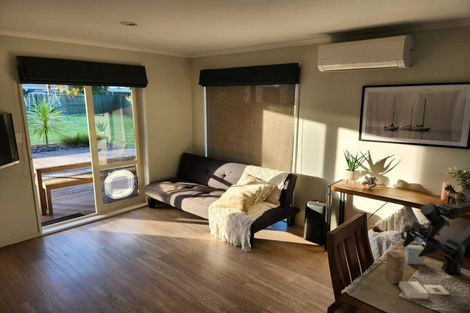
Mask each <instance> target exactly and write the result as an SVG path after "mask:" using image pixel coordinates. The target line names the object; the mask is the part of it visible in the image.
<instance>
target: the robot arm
mask: <svg viewBox="0 0 470 313" xmlns="http://www.w3.org/2000/svg"><path fill="white" fill-rule="evenodd" d="M419 211H420V213H421V214H422V216H423V217H424V218H425V220H427V221H428V222H427V223H426V222H424V223H420V222H417V221H414V222H413V224H412V225H408V224H407V225H405V227H404V228H403V230H404V232H405V234H406V235H405V239H404V241H403V244H402V247H403V248H405V247H406V246H408V245H411V244H412V243H413V242H414V241H416V238H419V239H421V240H422V241H425V242H426V246H424V247H423V248H424V249H423V250H422V251H421V252H420V254H419V255H418V256H419V257H422V256H424V257H425V256H429V255H431V254H436V253H437V254H439V253H441V256H442V257H444V259H443V262H442V266H440V268H441V270H443V271H444V272H445V273H446V274H448V275H449V276H463V272H461V271H462V266H464V265H466V263H467V258H466V257H465V256H464V255H465V253H466V247H467V246H468V245H469V244H470V224H469V225H468V226H467V227H466V228H465V229H464V230H463V231H462V232H461V233H460V234H459V235H458V236H457V237H456V238H455V239H451V238H448V239H446V240H445V241H444V242H443V243H442V242H441V241H440V240H439V239H436V236H437V237H439V236H440V235H441V233H440V232H441V231H442V229H444V227H448V228H449V227H450V225H451V224H450V220H451V221H454V220H456V219H458V218H460V217H461V215H464V214H470V201H466V202H462V203H456V204H452V203H441V204H440V205H436V204H435V203H433V202H430V203H428V204H424V205H422V206H421V207H420V209H419ZM446 218H447V219H446Z"/></svg>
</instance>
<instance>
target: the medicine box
mask: <svg viewBox="0 0 470 313" xmlns="http://www.w3.org/2000/svg"><path fill="white" fill-rule="evenodd" d="M424 248H425V247H423V246H422V245H420V244H419V245H416V244H415V245H414V244H409V245H408V246H406V247H404V254H403V255H404V256H405V261H404V263H406V265H422V266H423V265H424V262H425V256H422V257H419V256H418V255H419V254H420V252H421V251H422V250H423V249H424Z"/></svg>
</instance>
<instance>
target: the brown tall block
mask: <svg viewBox="0 0 470 313" xmlns="http://www.w3.org/2000/svg"><path fill="white" fill-rule="evenodd" d="M404 267H405V256H404V254H402V253H401V252H399V251H397V250H395V251H387V254H386V266H385V273H384V278H385V279H387V280H388V281H389V282H390V283H391V284H392V285H395V284H399V281H403V277H404V276H403V275H404V269H405V268H404Z"/></svg>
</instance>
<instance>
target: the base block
mask: <svg viewBox="0 0 470 313" xmlns="http://www.w3.org/2000/svg"><path fill="white" fill-rule="evenodd" d="M398 288H399V289H400V290H401V291H402V292H403V293H404V295H405V296H406V297H407V298H408V299H426V300H427V299H428V298H429V292H428V291H427V290H426V289H425V288H424V287H423V286H422V285H421V284H420V282H419V281H407V280H406V281H404V280H402V281H399V283H398Z"/></svg>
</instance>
